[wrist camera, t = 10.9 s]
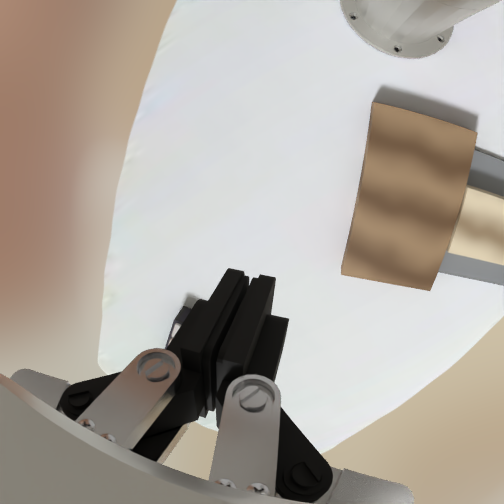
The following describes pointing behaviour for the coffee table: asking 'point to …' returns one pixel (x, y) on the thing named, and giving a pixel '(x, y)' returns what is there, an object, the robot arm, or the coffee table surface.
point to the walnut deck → (407, 197)
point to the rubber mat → (493, 180)
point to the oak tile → (479, 226)
